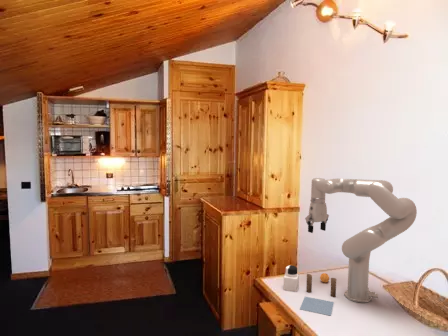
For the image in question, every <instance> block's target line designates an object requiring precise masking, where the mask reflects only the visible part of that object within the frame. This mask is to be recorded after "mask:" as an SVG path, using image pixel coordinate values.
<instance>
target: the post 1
mask: <svg viewBox="0 0 448 336" xmlns="http://www.w3.org/2000/svg"><path fill="white" fill-rule="evenodd" d="M312 282H313V274H312V273H307V274H306V293H308V294H309V293H312V290H313V289H312V288H313V287H312V286H313V283H312Z"/></svg>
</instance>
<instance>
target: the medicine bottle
mask: <svg viewBox="0 0 448 336" xmlns="http://www.w3.org/2000/svg"><path fill="white" fill-rule="evenodd" d="M299 277H300V275H299V273H298V267H297V266H295V265H287V266H286V267H285V273H284V276H283V291H287V292H294V293H295V292H296V293H297V292H298V290H299V283H300V282H299V280H300V278H299Z"/></svg>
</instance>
